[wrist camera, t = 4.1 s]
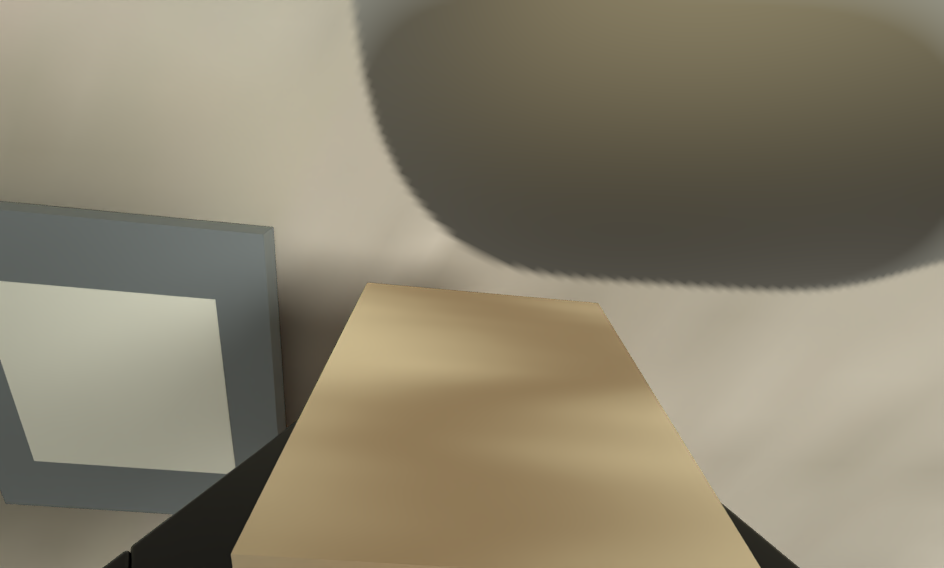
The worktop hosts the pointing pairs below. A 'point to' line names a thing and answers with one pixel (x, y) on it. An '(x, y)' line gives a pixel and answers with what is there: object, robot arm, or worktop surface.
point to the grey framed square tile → (133, 356)
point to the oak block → (484, 448)
